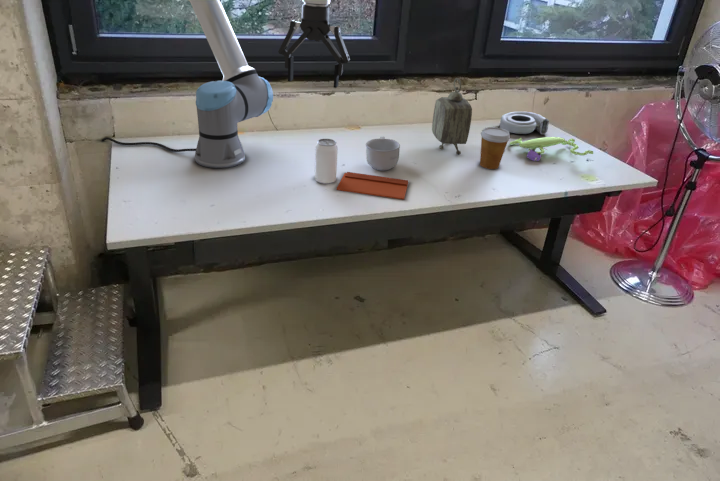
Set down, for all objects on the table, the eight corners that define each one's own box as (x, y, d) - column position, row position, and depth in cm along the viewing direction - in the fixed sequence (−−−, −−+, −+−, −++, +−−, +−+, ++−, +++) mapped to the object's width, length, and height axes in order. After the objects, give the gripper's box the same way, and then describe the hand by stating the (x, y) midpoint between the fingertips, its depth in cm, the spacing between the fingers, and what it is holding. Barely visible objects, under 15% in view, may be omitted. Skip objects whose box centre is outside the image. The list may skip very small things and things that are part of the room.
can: (320, 185, 159) (321, 147, 153) (311, 176, 164) (312, 139, 158) (339, 182, 162) (341, 144, 156) (330, 173, 167) (332, 137, 161)
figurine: (593, 167, 187) (598, 152, 184) (516, 161, 187) (520, 146, 184) (577, 147, 202) (581, 133, 200) (506, 142, 202) (509, 127, 200)
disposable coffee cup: (506, 164, 184) (513, 130, 178) (500, 173, 176) (507, 138, 170) (478, 158, 187) (485, 124, 181) (471, 167, 179) (478, 132, 173)
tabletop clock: (464, 157, 186) (477, 85, 174) (439, 157, 185) (450, 84, 172) (452, 142, 199) (463, 73, 186) (428, 141, 197) (438, 72, 184)
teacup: (394, 175, 169) (397, 151, 165) (361, 170, 170) (363, 147, 166) (400, 159, 181) (403, 136, 177) (369, 155, 182) (371, 132, 178)
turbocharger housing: (492, 126, 221) (509, 139, 209) (494, 110, 218) (511, 123, 205) (530, 122, 224) (548, 135, 212) (532, 107, 221) (551, 119, 209)
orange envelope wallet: (336, 190, 157) (336, 187, 157) (344, 174, 168) (344, 171, 167) (403, 199, 155) (404, 196, 154) (408, 182, 165) (408, 180, 165)
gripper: (267, 0, 143) (267, 80, 154) (358, 11, 140) (352, 92, 151) (276, -3, 149) (276, 74, 160) (364, 7, 146) (357, 85, 157)
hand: (313, 83), depth 156 cm, fingers open, 13 cm apart
